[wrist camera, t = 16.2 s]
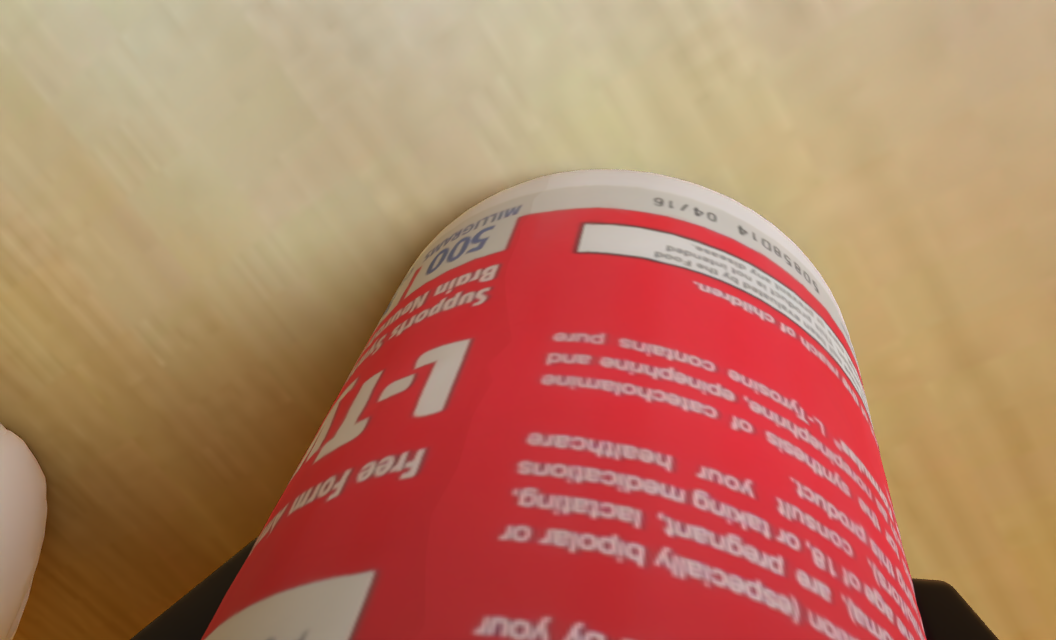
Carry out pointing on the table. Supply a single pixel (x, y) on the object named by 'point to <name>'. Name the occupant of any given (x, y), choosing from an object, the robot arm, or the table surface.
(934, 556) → the table surface
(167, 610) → the robot arm
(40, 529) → the water bottle
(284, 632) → the pill bottle
